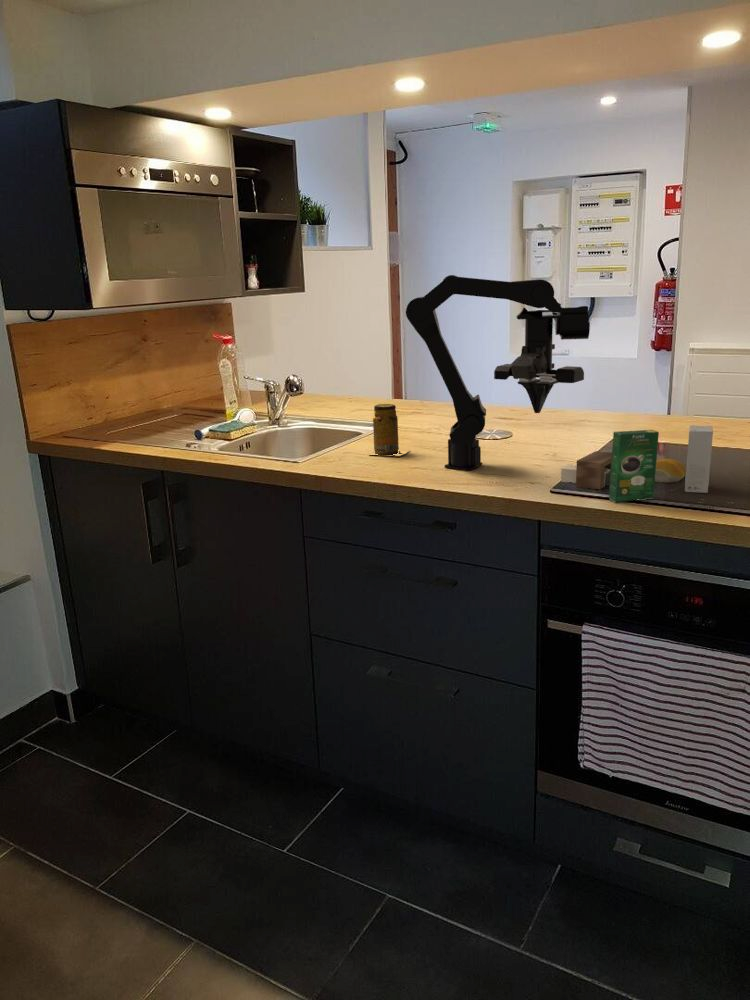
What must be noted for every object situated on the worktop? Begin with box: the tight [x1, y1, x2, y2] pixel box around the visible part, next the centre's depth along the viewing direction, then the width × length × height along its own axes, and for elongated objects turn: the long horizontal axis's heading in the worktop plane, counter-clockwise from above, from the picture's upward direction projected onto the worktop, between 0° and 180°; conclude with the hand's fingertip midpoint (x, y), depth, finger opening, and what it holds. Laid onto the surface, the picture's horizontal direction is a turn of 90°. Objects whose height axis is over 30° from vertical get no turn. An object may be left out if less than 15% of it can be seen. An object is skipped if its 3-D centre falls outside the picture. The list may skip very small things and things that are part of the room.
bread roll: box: [655, 458, 686, 484], centre depth 161 cm, size 8×9×4 cm
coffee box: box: [608, 429, 660, 503], centre depth 146 cm, size 8×3×13 cm, turn 101°
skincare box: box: [684, 424, 714, 494], centre depth 151 cm, size 6×4×12 cm
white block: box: [560, 464, 611, 487], centre depth 160 cm, size 11×4×3 cm, turn 57°
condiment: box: [372, 403, 401, 458], centre depth 191 cm, size 7×8×12 cm
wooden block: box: [575, 450, 612, 490], centre depth 159 cm, size 5×10×5 cm, turn 143°
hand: (537, 412), depth 171 cm, fingers closed
